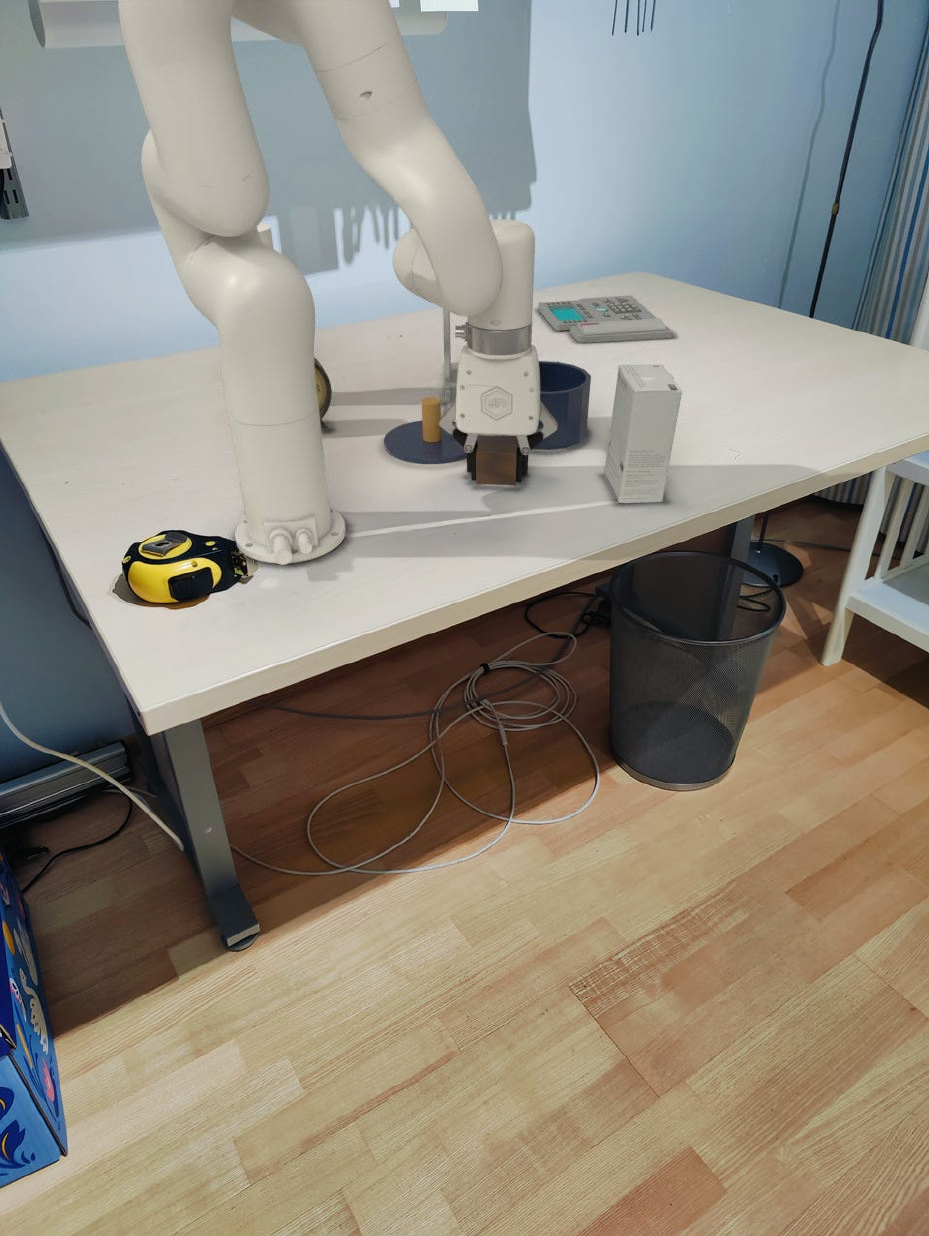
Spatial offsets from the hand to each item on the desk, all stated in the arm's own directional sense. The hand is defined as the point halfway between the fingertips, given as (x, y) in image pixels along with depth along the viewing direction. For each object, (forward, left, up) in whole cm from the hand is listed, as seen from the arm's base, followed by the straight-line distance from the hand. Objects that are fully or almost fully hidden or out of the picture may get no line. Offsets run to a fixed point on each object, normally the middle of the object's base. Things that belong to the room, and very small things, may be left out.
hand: (497, 476), depth 111 cm
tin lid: (+12, +6, 0) cm, 13 cm away
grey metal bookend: (+31, -7, -1) cm, 32 cm away
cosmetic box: (-7, -16, -1) cm, 17 cm away
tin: (+12, -10, 0) cm, 16 cm away
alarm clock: (+22, +24, -1) cm, 33 cm away
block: (0, 0, 0) cm, 0 cm away
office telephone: (+59, -37, -1) cm, 70 cm away
